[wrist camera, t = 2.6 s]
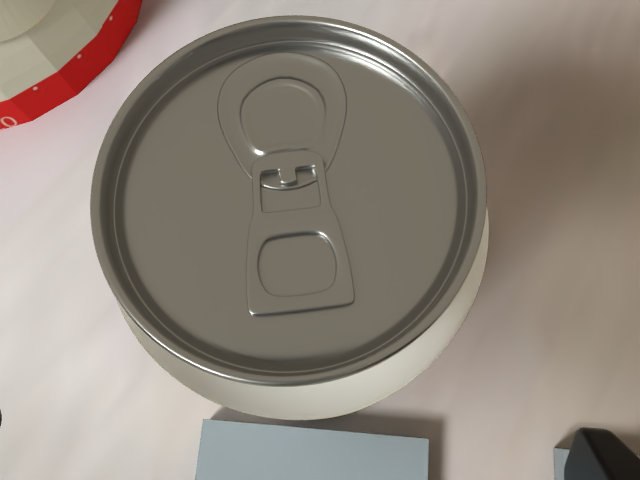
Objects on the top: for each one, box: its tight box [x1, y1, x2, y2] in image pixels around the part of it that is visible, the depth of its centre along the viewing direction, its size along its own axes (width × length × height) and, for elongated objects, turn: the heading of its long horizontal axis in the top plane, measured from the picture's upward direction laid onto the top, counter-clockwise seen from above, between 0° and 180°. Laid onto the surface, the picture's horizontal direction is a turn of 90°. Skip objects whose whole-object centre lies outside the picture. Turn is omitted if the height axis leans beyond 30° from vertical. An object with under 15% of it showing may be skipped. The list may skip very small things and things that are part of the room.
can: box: [90, 15, 489, 420], centre depth 14 cm, size 6×6×12 cm
